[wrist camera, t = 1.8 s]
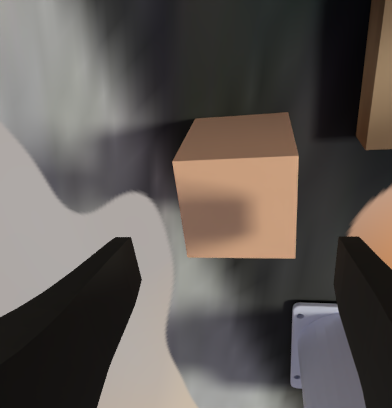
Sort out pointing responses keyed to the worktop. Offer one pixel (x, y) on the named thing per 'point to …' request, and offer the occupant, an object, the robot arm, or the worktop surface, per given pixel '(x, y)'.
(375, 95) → the tan board
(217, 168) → the terracotta block
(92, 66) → the worktop surface
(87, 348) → the robot arm
